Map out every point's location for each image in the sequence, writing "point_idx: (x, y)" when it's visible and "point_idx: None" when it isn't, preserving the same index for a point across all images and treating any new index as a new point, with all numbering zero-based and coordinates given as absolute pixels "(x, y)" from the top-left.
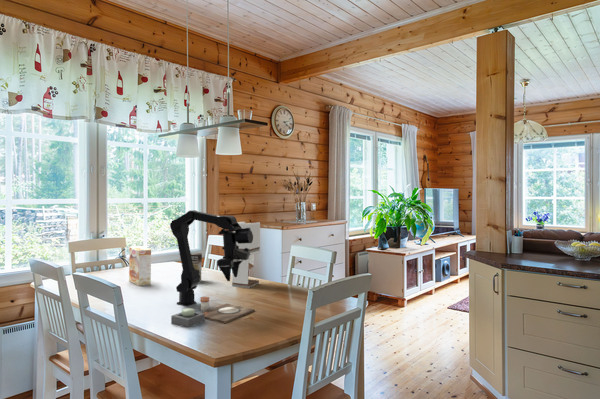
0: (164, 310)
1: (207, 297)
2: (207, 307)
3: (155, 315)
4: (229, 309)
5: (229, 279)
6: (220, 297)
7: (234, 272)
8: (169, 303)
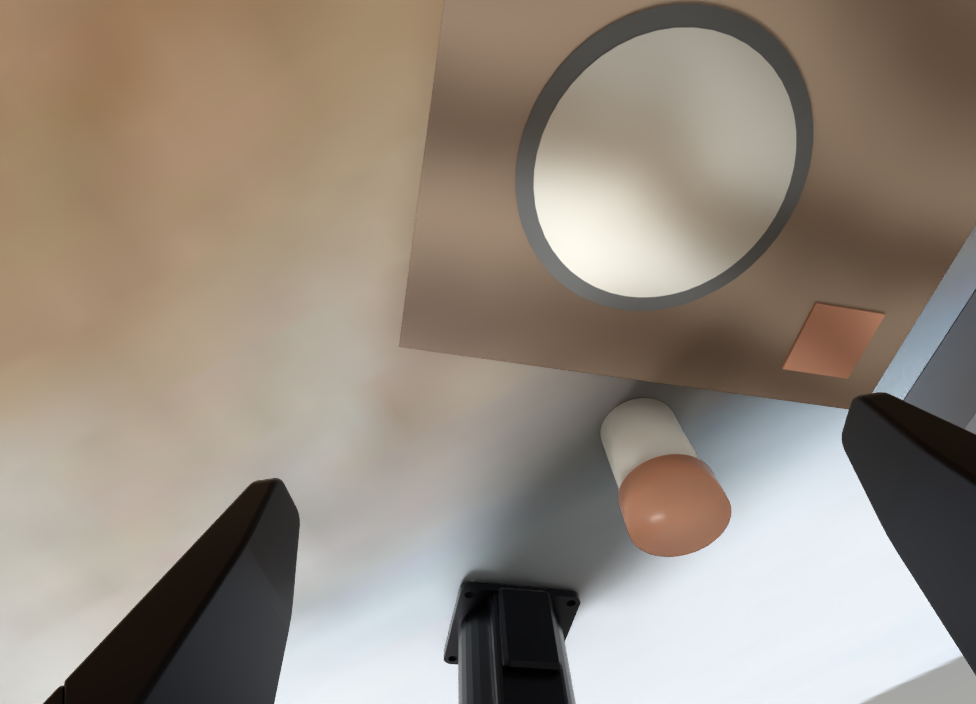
0: (724, 636)
1: (666, 504)
2: (663, 418)
3: (849, 619)
4: (633, 184)
5: (924, 418)
6: (181, 517)
7: (261, 637)
8: None
